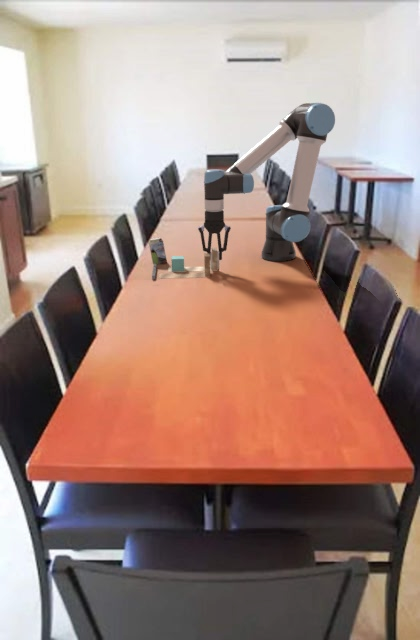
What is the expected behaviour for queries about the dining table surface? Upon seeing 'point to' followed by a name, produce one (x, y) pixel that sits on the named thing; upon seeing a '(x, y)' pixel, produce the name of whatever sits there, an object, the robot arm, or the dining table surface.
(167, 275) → the strip oak
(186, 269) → the beige long angled piece
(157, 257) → the beverage can
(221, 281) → the dining table surface
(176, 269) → the block
